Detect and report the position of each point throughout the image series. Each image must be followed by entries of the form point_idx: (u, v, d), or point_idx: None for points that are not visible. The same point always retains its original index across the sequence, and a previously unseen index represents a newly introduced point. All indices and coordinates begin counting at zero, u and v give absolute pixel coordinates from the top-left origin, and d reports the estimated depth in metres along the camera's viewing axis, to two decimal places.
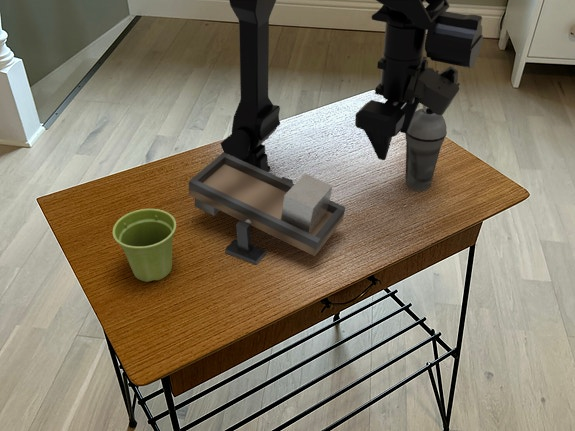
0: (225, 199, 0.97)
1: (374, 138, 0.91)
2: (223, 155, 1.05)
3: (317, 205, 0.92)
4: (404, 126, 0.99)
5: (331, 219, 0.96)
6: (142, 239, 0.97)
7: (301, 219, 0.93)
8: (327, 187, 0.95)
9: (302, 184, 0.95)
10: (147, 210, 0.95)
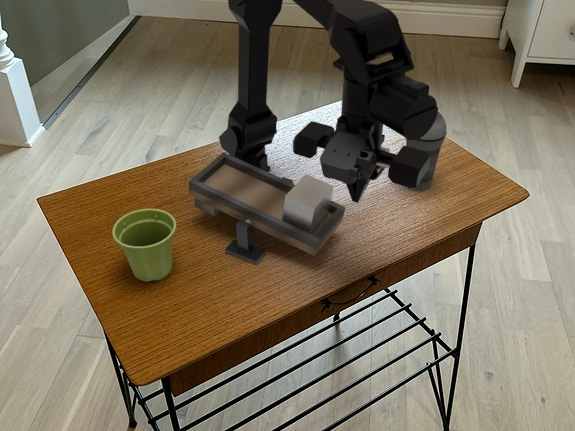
0: (225, 199, 0.97)
1: None
2: (223, 155, 1.05)
3: (318, 206, 0.92)
4: None
5: (331, 219, 0.96)
6: (142, 239, 0.97)
7: (302, 220, 0.93)
8: (328, 187, 0.95)
9: (303, 184, 0.95)
10: (147, 210, 0.95)
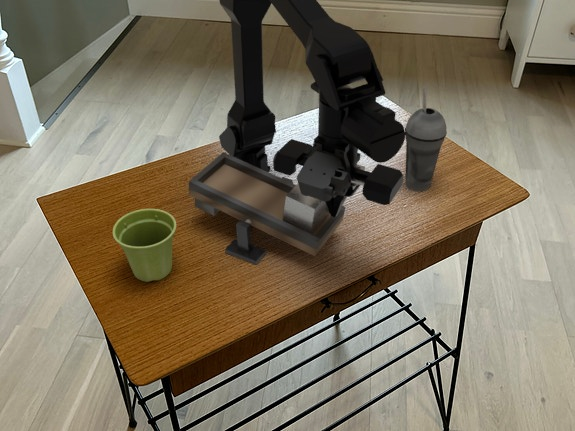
0: (225, 199, 0.97)
1: None
2: (223, 155, 1.05)
3: (318, 206, 0.92)
4: None
5: (331, 219, 0.96)
6: (142, 239, 0.97)
7: (303, 220, 0.93)
8: None
9: None
10: (147, 210, 0.95)
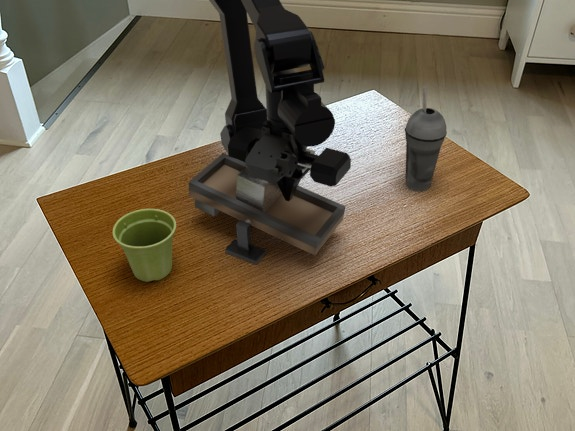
0: (225, 199, 0.97)
1: None
2: (223, 156, 1.05)
3: (269, 184, 0.95)
4: None
5: (331, 219, 0.96)
6: (142, 239, 0.97)
7: (254, 198, 0.96)
8: None
9: None
10: (147, 210, 0.95)
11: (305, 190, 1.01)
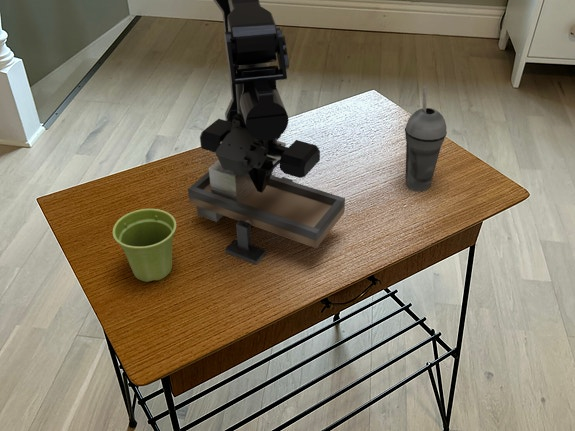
0: (224, 202, 0.98)
1: None
2: None
3: (240, 174, 0.97)
4: None
5: (330, 210, 0.95)
6: (142, 239, 0.97)
7: (228, 190, 0.98)
8: None
9: None
10: (147, 210, 0.95)
11: (304, 186, 1.00)
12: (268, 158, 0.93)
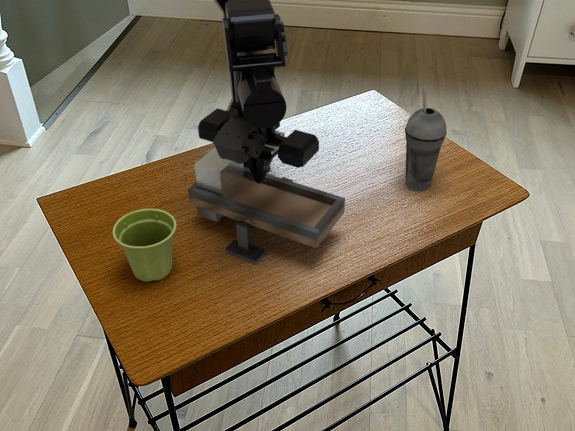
0: (223, 202, 0.98)
1: None
2: None
3: (225, 170, 0.98)
4: None
5: (330, 210, 0.95)
6: (142, 239, 0.97)
7: (213, 185, 0.99)
8: None
9: (213, 153, 1.00)
10: (147, 210, 0.95)
11: (304, 186, 1.00)
12: (266, 148, 0.92)
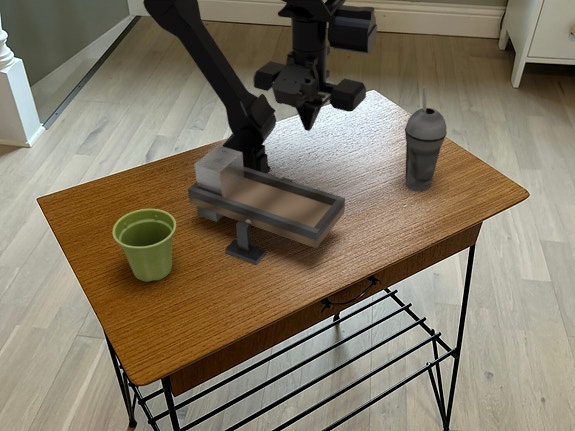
0: (223, 202, 0.98)
1: None
2: None
3: (225, 170, 0.98)
4: None
5: (330, 210, 0.95)
6: (142, 239, 0.97)
7: (213, 185, 0.99)
8: (237, 154, 1.00)
9: (213, 153, 1.00)
10: (147, 210, 0.95)
11: (304, 186, 1.00)
12: (318, 95, 1.00)
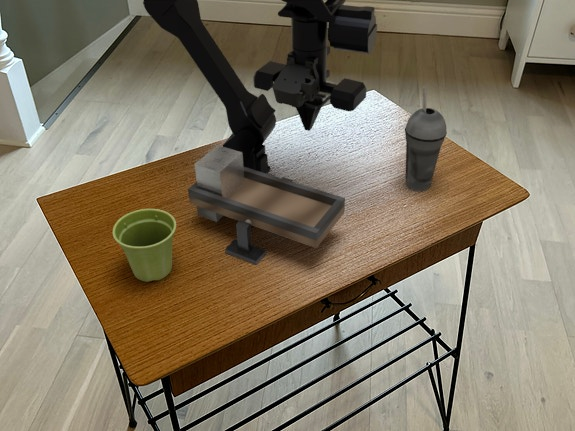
0: (223, 202, 0.98)
1: None
2: None
3: (225, 170, 0.98)
4: None
5: (330, 210, 0.95)
6: (142, 239, 0.97)
7: (213, 185, 0.99)
8: (237, 154, 1.00)
9: (213, 153, 1.00)
10: (147, 210, 0.95)
11: (304, 186, 1.00)
12: (318, 95, 1.00)
